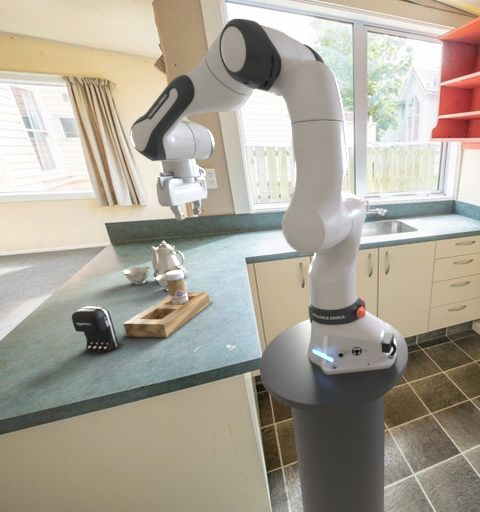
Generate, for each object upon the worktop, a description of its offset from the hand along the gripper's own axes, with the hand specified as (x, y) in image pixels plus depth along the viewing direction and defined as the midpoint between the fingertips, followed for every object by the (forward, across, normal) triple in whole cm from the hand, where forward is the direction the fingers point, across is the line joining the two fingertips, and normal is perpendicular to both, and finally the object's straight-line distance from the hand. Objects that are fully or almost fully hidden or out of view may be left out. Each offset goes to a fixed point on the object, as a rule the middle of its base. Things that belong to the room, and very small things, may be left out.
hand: (189, 217), depth 92 cm
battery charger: (+29, -27, +13) cm, 42 cm away
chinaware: (+29, +18, +24) cm, 42 cm away
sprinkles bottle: (+29, -7, +4) cm, 30 cm away
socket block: (+29, -12, +4) cm, 32 cm away
